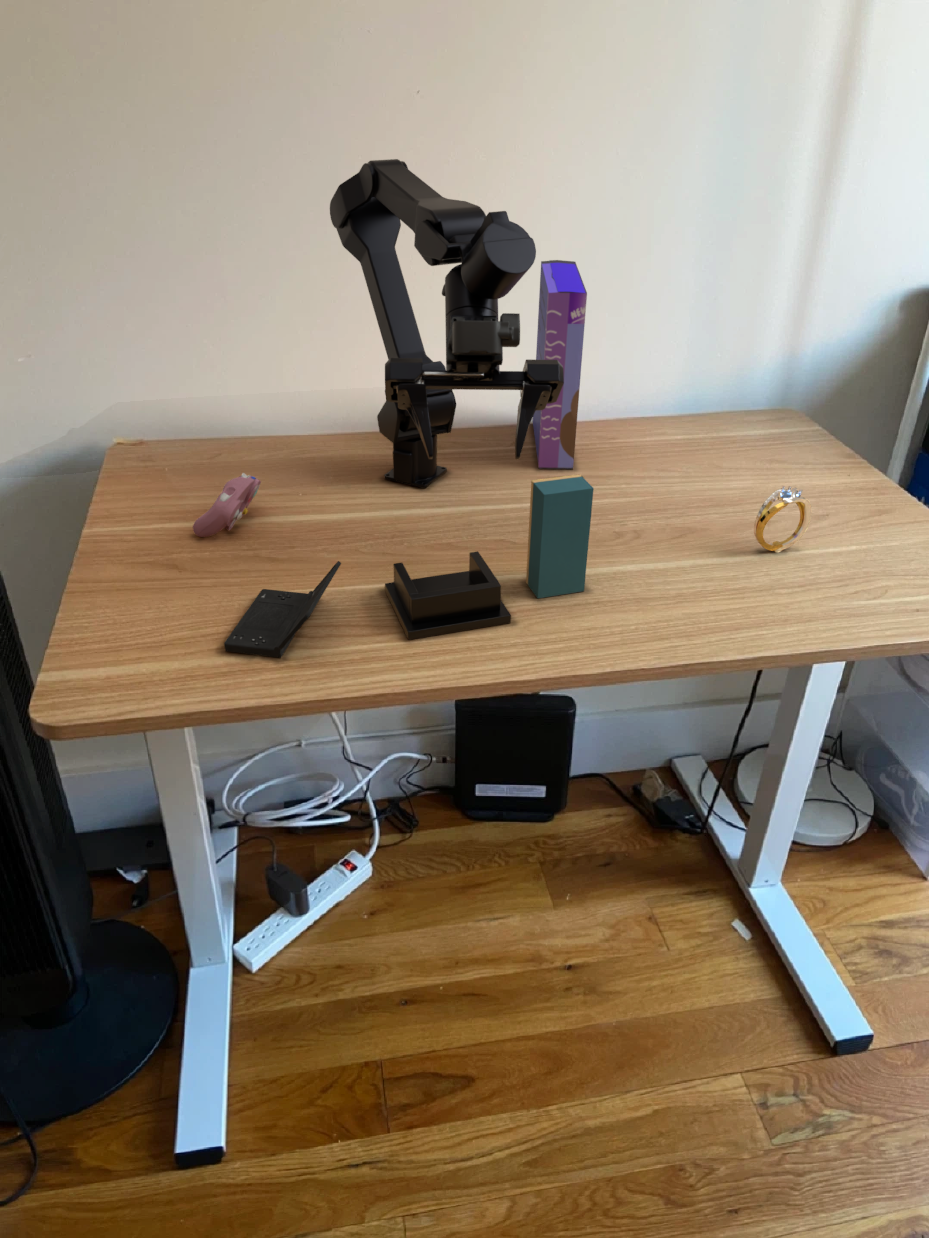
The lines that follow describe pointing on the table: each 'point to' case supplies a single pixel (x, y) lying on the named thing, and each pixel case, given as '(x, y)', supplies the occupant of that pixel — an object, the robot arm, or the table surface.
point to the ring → (766, 515)
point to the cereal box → (560, 360)
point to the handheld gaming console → (275, 620)
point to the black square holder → (447, 600)
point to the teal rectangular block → (558, 535)
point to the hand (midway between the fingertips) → (474, 458)
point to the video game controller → (228, 506)
